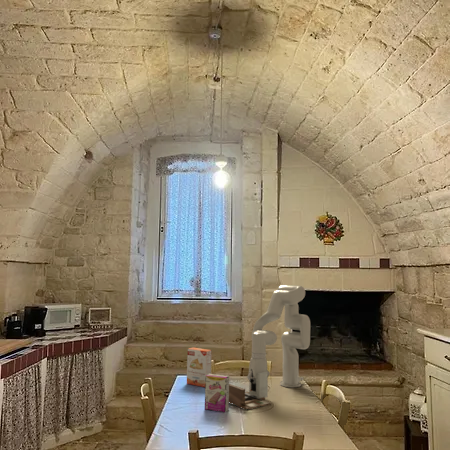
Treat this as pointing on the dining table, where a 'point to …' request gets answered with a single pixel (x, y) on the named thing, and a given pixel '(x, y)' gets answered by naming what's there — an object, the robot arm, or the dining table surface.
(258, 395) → the small box
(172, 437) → the dining table surface
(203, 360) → the cracker box
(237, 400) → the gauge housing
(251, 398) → the gauge carriage
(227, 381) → the candy bar box
